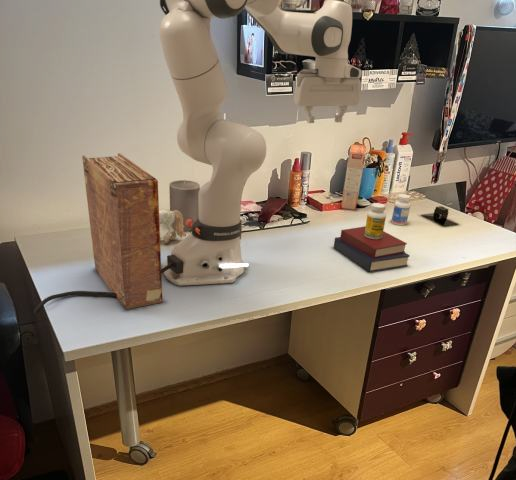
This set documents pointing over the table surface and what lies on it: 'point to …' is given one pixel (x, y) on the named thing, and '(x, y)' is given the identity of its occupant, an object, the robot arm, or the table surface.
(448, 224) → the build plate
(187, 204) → the pillar candle
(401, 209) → the pill bottle
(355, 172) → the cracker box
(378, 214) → the supplement bottle
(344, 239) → the book stack
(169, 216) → the unicorn figurine
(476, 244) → the table surface
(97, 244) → the book
